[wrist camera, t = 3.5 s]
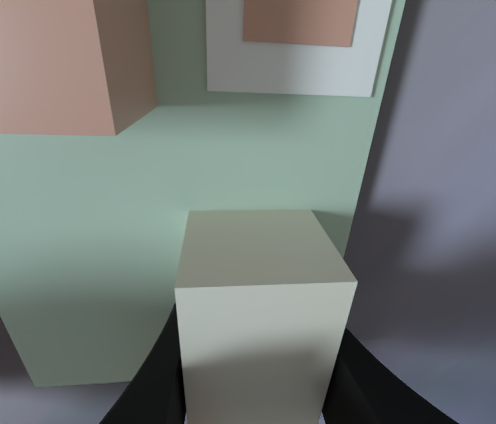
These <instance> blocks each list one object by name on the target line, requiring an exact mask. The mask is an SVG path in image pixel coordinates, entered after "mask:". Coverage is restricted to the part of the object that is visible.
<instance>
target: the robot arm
mask: <svg viewBox="0 0 496 424" xmlns="http://www.w3.org/2000/svg"><path fill="white" fill-rule="evenodd" d="M322 413H323V417H324V420H325V423H326V424H459V423H457V422H456V421H454V420H453V419H451V418H450V417H448V416H447V415H446V414H444V413H443V412H441V411H440V410H439V409H437V408H436V407H434V406H433V405H432V404H431V403H429V402H428V401H427V400H425V399H424V398H423V397H421V396H420V395H419V394H417V393H416V392H415V391H413V390H412V389H411V388H410V387H408V386H407V385H406V384H405V383H403V382H402V381H401V380H400V379H399V378H398V377H396V376H395V375H394V374H393V373H392V372H391V371H389V370H388V369H387V368H386V367H385V366H384V365H383V364H382V363H381V362H379V361H378V360H377V359H376V358H375V357H374V356H373V355H372V354H371V353H370V352H369V351H368V350H367V349H366V348H365V347H364V346H363V345H362V344H361V343H360V342H359V341H358V340H357V339H356V338H355V337H354V336H353V334H352V333H351V332H350V331H349V330H348V329H347V328H346V327H345V329H344V333H343V336H342V340H341V344H340V347H339V351H338V354H337V358H336V361H335V365H334V368H333V372H332V375H331V379H330V383H329V386H328V390H327V393H326V397H325V400H324V404H323V407H322ZM185 415H186V401H185V391H184V381H183V371H182V361H181V350H180V340H179V330H178V320H177V309H176V302H175V303H174V306H173V308H172V311H171V313H170V315H169V317H168V320H167V322H166V324H165V326H164V328H163V330H162V332H161V333H160V335H159V337H158V339H157V341H156V342H155V344H154V346H153V348H152V349H151V351H150V353H149V354H148V356H147V358H146V359H145V361H144V362H143V364H142V366H141V367H140V369H139V370H138V372H137V373H136V375H135V376H134V378H133V379H132V381H131V382H130V384H129V385H128V386H127V388H126V389H125V391H124V392H123V393H122V395H121V396H120V397H119V399H118V400H117V401H116V403H115V404H114V405H113V407H112V408H111V409H110V410H109V412H108V413H107V414H106V416H105V417H104V418H103V419H102V421H101V422H100V423H99V424H184V421H185Z"/></svg>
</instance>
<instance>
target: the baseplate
mask: <svg viewBox="0 0 496 424" xmlns="http://www.w3.org/2000/svg"><path fill="white" fill-rule="evenodd" d="M405 1H406V0H0V317H1V319H2V321H3V323H4V325H5V327H6V329H7V331H8V333H9V335H10V337H11V339H12V342H13V344H14V346H15V348H16V350H17V352H18V354H19V356H20V358H21V360H22V362H23V364H24V366H25V368H26V370H27V372H28V374H29V376H30V378H31V380H32V382H33V384H34V386H35V388H42V387H57V386H71V385H86V384H100V383H114V382H129V381H132V379H133V378H134V376H135V375H136V373H137V372H138V370H139V369H140V367H141V366H142V364H143V362H144V361H145V359H146V358H147V356H148V354H149V353H150V351H151V349H152V348H153V346H154V344H155V342H156V341H157V339H158V337H159V335H160V333H161V332H162V330H163V328H164V326H165V324H166V322H167V320H168V317H169V315H170V313H171V311H172V308H173V306H174V303H175V302H176V299H175V289H174V288H175V283H176V277H177V272H178V266H179V261H180V256H181V250H182V245H183V240H184V234H185V229H186V223H187V218H188V213H189V211H220V210H311V211H312V212H313V214H314V215H315V217H316V219H317V220H318V222H319V223H320V225H321V226H322V228H323V229H324V231H325V232H326V234H327V235H328V237H329V238H330V240H331V241H332V243H333V245H334V246H335V248H336V249H337V251H338V252H339V254H340V255H341V257H342V258H343V259H344V255H345V251H346V246H347V242H348V238H349V234H350V230H351V226H352V221H353V217H354V213H355V209H356V205H357V201H358V196H359V192H360V188H361V184H362V180H363V176H364V172H365V167H366V163H367V159H368V155H369V151H370V147H371V142H372V138H373V134H374V130H375V126H376V122H377V118H378V113H379V109H380V105H381V101H382V97H383V93H384V88H385V84H386V80H387V76H388V72H389V68H390V63H391V59H392V55H393V51H394V47H395V43H396V39H397V34H398V30H399V26H400V22H401V18H402V14H403V9H404V5H405Z"/></svg>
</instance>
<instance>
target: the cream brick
mask: <svg viewBox="0 0 496 424" xmlns="http://www.w3.org/2000/svg"><path fill="white" fill-rule="evenodd" d="M357 283H358V281H357V280H356V278H355V277H354V275H353V274H352V272H351V270H350V269H349V267H348V266H347V264H346V263H345V261H344V260H343V258H342V257H341V255H340V254H339V252H338V251H337V249H336V248H335V246H334V245H333V243H332V241H331V240H330V238H329V237H328V235H327V234H326V232H325V231H324V229H323V228H322V226H321V225H320V223H319V222H318V220H317V219H316V217H315V215H314V214H313V212H312V211H311V210H220V211H189V213H188V218H187V223H186V229H185V234H184V240H183V245H182V250H181V256H180V261H179V266H178V272H177V277H176V283H175V288H174V289H175V299H176V309H177V320H178V330H179V340H180V350H181V361H182V371H183V381H184V391H185V401H186V412H187V422H188V424H318V422H319V418H320V415H321V411H322V407H323V404H324V400H325V397H326V393H327V390H328V386H329V383H330V379H331V375H332V372H333V368H334V365H335V361H336V358H337V354H338V351H339V347H340V344H341V340H342V336H343V333H344V329H345V326H346V322H347V319H348V315H349V312H350V308H351V304H352V301H353V297H354V294H355V290H356V287H357Z"/></svg>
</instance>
